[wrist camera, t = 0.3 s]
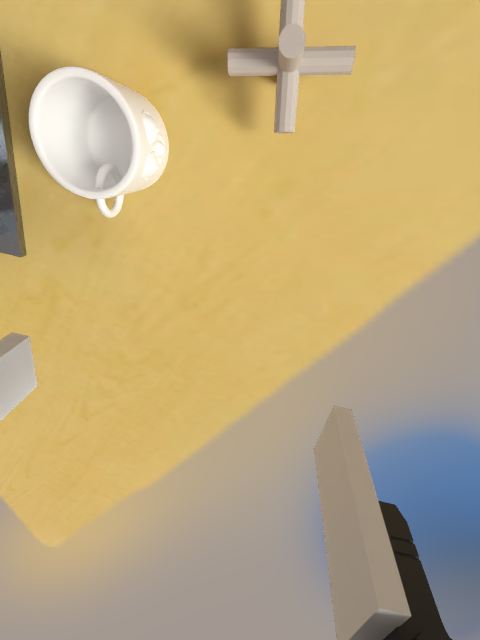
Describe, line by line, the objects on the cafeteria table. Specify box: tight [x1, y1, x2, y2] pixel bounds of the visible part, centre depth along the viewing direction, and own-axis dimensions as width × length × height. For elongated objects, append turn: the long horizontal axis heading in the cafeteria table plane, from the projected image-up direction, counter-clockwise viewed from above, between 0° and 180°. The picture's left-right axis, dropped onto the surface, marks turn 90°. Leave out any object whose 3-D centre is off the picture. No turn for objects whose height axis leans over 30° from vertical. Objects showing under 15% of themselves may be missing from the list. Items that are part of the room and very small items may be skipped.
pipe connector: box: [228, 0, 355, 133], centre depth 25 cm, size 10×10×10 cm
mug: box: [29, 66, 169, 218], centre depth 31 cm, size 12×10×9 cm
